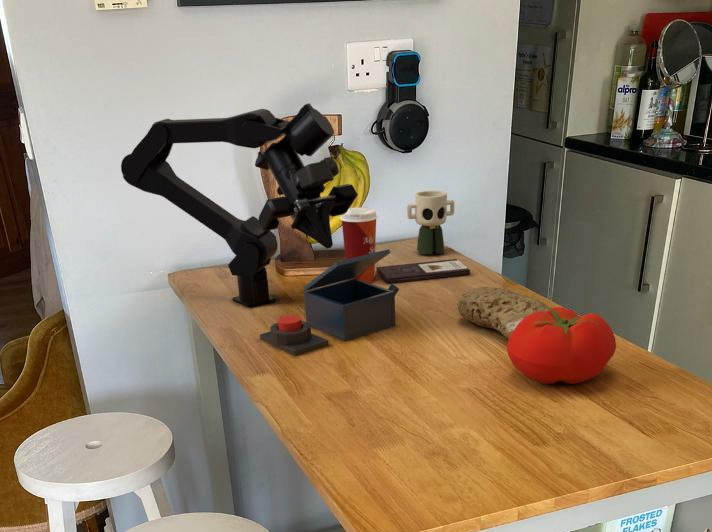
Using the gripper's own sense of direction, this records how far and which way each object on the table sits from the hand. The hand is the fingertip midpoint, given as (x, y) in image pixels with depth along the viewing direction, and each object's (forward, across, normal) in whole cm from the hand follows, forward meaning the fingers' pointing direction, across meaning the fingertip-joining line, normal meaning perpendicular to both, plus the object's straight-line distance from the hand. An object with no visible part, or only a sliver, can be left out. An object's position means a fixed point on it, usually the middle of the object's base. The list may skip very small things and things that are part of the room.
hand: (330, 246), depth 149 cm
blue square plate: (+6, 0, -1) cm, 6 cm away
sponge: (+28, +18, -9) cm, 34 cm away
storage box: (+13, 0, +6) cm, 14 cm away
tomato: (+42, +9, -23) cm, 49 cm away
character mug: (-5, +43, +24) cm, 50 cm away
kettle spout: (+13, +7, +3) cm, 16 cm away
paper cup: (-2, +19, +21) cm, 28 cm away
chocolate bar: (+2, +31, +16) cm, 35 cm away
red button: (+11, -13, +4) cm, 18 cm away
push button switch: (+13, -13, +6) cm, 19 cm away
